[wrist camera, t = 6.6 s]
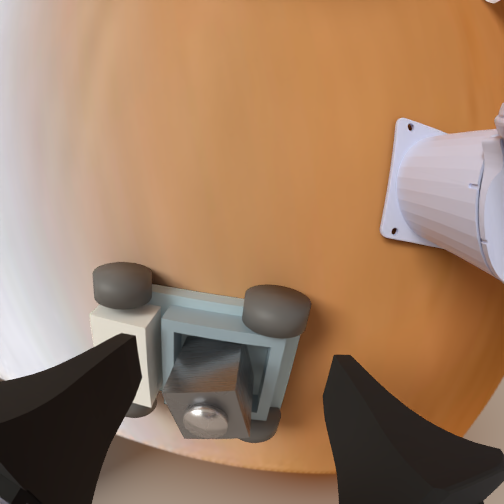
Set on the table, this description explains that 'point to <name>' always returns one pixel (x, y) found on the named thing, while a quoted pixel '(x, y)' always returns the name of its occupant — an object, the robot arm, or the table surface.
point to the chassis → (201, 333)
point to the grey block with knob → (211, 389)
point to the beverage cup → (492, 1)
